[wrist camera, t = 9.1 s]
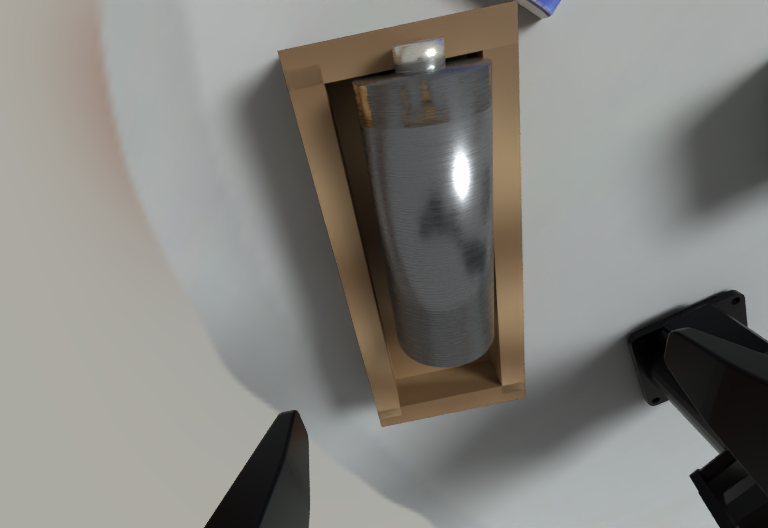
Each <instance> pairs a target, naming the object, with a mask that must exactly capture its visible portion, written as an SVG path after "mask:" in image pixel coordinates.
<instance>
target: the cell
mask: <svg viewBox="0 0 768 528" xmlns="http://www.w3.org/2000/svg"><path fill="white" fill-rule="evenodd" d="M392 52H393V60H394V68H395V69H392V70H387V71H382V72H378V73H373V74H369V75H365V76H363V77H360V78H358V79H356V80H354V81H353V82H352V86H353V91H354V97H355V103H356V108H357V114H358V119H359V125H360V131H361V136H362V142H363V147H364V153H365V159H366V164H367V170H368V175H369V181H370V186H371V192H372V198H373V203H374V209H375V214H376V220H377V226H378V231H379V237H380V242H381V248H382V254H383V259H384V265H385V270H386V276H387V282H388V287H389V293H390V298H391V304H392V310H393V315H394V321H395V326H396V332H397V338H398V342H399V345H400V347H401V349H402V350H403V352H404V353H405V354H406V355H407V356H409V357H410V358H411V359H413V360H415V361H416V362H419V363H421V364H424V365H428V366H432V367H441V368H445V367H456V366H461V365H465V364H468V363H470V362H472V361H474V360H476V359H478V358H479V357H481V356H482V355H483V354H485V353H486V351H487V350H488V349H489V348H490V346H491V345H492V342H493V339H494V233H493V102H492V60H491V59H488V58H459V59H448V60H445V47H444V38H432V39H425V40H419V41H413V42H408V43H403V44H398V45H395V46H392Z"/></svg>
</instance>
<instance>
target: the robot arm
mask: <svg viewBox="0 0 768 528" xmlns="http://www.w3.org/2000/svg"><path fill="white" fill-rule="evenodd" d="M628 346H629V349H630V353H631V356H632V359H633V363H634V366H635V369H636V373H637V376H638V379H639V383H640V386H641V389H642V393H643V396H644V399H645V400H646V401H647V403H648V404H649V405H651V406H655V405H658V404H661V403H663V402H665V401H668V400H669V401H670V402H671V403H672V404H673V405H674V406H675V407H676V408H677V409H678V410H679V411H680V412H681V413H682V415H683V416H684V417H685V418H686V419H687V420H688V421H689V422H690V423H691V424H692V425H693V426H694V427H695V428H696V429H697V430H698V432H699V433H700V434H701V435H702V436H703V437H704V438H705V439H706V440H707V441H708V442H709V443H710V444H711V445H712V446H713V447H714V449H715V450H716V451H717V452H718V453H719V455H718V456H717V457H715V458H714V459H713V460H712V461H710V462H709V463H708V464H707V465H705V466H704V467H703V468H702V469H697V470H695V471H694V472H693V473H692V474H690V478H691V480H692V481H693V483H694V484H695V486H696V488H697V489H698V491H699V495H700V496H701V498H702V499H703V501H704V503H705V504H706V506H707V508H708V509H709V511H710V512H711V514H712V516H713V517H714V519H715V521H716V522H717V524H718V525H719V527H720V528H768V341H767V340H766V339H764V338H763V337H761V336H760V335H758V334H757V333H755V332H754V331H752V330H751V329H749V328H748V327H747V316H746V305H745V297H744V295H743V294H741V293H740V292H738V291H736V290H731V291H728V292H725V293H723V294H721V295H719V296H717V297H714V298H712V299H710V300H708V301H705V302H703V303H701V304H699V305H696V306H694V307H692V308H690V309H687V310H685V311H683V312H681V313H678V314H676V315H674V316H672V317H669V318H667V319H665V320H663V321H660V322H658V323H656V324H654V325H651V326H649V327H647V328H645V329H643V330H640V331H638V332H636V333H634V334H632V335H631V336H630V337H629V338H628ZM309 483H310V481H309V441H308V434H307V431H306V429H305V426H304V424H303V421H302V419H301V417H300V414H299V412H298V411H297V410H291V411H286V412H282V413H280V414H279V415H278V416H277V418H276V419H275V421H274V422H273V424H272V425H271V427H270V428H269V430H268V431H267V433H266V434H265V436H264V437H263V439H262V440H261V442H260V443H259V445H258V446H257V448H256V449H255V451H254V453H253V454H252V456H251V457H250V459H249V460H248V462H247V463H246V465H245V466H244V468H243V470H242V471H241V472H240V474H239V475H238V477H237V478H236V480H235V481H234V483H233V485H232V486H231V488H230V489H229V491H228V492H227V494H226V495H225V497H224V498H223V500H222V501H221V503H220V504H219V506H218V507H217V509H216V510H215V512H214V514H213V515H212V516H211V518H210V519H209V521H208V522H207V524H206V525H205V527H204V528H309V515H310V513H309V512H310V484H309Z"/></svg>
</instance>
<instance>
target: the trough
mask: <svg viewBox="0 0 768 528" xmlns="http://www.w3.org/2000/svg"><path fill="white" fill-rule="evenodd" d="M432 38H444V47H445V60H448V59H459V58H488V59H491V60H492V102H493V233H494V339H493V342H492V345H491V346H490V348H489V349H488V350H487V351H486V353H485V354H483V355H482V356H481V357H479V358H478V359H476V360H474V361H472V362H470V363H468V364H465V365H461V366H456V367H445V368H441V367H432V366H428V365H424V364H421V363H419V362H416V361H415V360H413V359H411V358H410V357H409V356H407V355H406V354H405V353H404V352H403V350H402V349H401V347H400V345H399V342H398V338H397V332H396V326H395V321H394V315H393V310H392V304H391V298H390V293H389V287H388V282H387V276H386V270H385V265H384V259H383V254H382V248H381V242H380V237H379V231H378V226H377V220H376V214H375V209H374V203H373V198H372V192H371V186H370V181H369V175H368V170H367V164H366V159H365V153H364V147H363V142H362V136H361V131H360V125H359V119H358V114H357V108H356V103H355V97H354V91H353V86H352V82H353V81H354V80H356V79H358V78H360V77H363V76H365V75H369V74H373V73H378V72H382V71H387V70H392V69H395V68H394V60H393V52H392V46H395V45H398V44H403V43H408V42H413V41H419V40H425V39H432ZM278 55H279V58H280V62H281V65H282V69H283V73H284V76H285V80H286V83H287V87H288V91H289V94H290V98H291V101H292V105H293V109H294V112H295V116H296V119H297V123H298V127H299V130H300V134H301V138H302V141H303V145H304V148H305V152H306V156H307V159H308V163H309V166H310V170H311V174H312V177H313V181H314V184H315V188H316V192H317V195H318V199H319V202H320V206H321V210H322V213H323V217H324V221H325V224H326V228H327V231H328V235H329V239H330V242H331V246H332V249H333V253H334V257H335V260H336V264H337V267H338V271H339V275H340V278H341V282H342V285H343V289H344V293H345V296H346V300H347V303H348V307H349V311H350V314H351V318H352V322H353V325H354V329H355V332H356V336H357V340H358V343H359V347H360V350H361V354H362V358H363V361H364V365H365V368H366V372H367V376H368V379H369V383H370V386H371V390H372V394H373V397H374V401H375V405H376V408H377V412H378V415H379V419H380V423H381V426H382V427H385V426H390V425H394V424H399V423H404V422H409V421H414V420H419V419H424V418H429V417H433V416H438V415H443V414H448V413H453V412H458V411H463V410H468V409H472V408H477V407H482V406H487V405H492V404H497V403H502V402H507V401H511V400H516V399H521V398H525V369H524V316H523V263H522V210H521V158H520V105H519V52H518V0H516V1H512V2H507V3H502V4H498V5H493V6H488V7H483V8H479V9H474V10H469V11H464V12H460V13H455V14H450V15H446V16H441V17H436V18H431V19H427V20H422V21H417V22H412V23H408V24H403V25H398V26H394V27H389V28H384V29H379V30H375V31H370V32H365V33H361V34H356V35H351V36H346V37H342V38H337V39H332V40H327V41H323V42H318V43H313V44H309V45H304V46H299V47H294V48H290V49H285V50H280V51H278Z"/></svg>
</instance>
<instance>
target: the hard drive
mask: <svg viewBox="0 0 768 528" xmlns="http://www.w3.org/2000/svg"><path fill="white" fill-rule="evenodd" d="M514 1H516V0H514ZM560 1H561V0H518V3H519V4H520V5H522V6H523V7H525V8H526V9H528V10H529V11H531V12H532V13H534V14H535V15H536V16H538V17H539V18H541V19H542V18H547V17H549V16H551V15H552V14H553V12H554V11H555V9H556V7H557V6H558V4H559V3H560Z"/></svg>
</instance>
